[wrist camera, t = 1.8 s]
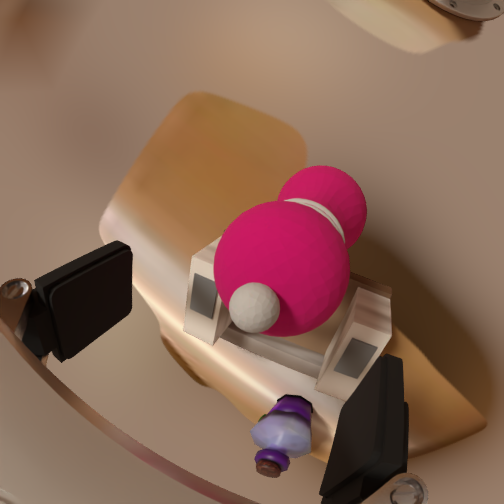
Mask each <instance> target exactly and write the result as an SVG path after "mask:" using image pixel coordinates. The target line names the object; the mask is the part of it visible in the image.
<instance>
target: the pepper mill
mask: <svg viewBox="0 0 504 504" xmlns="http://www.w3.org/2000/svg"><path fill="white" fill-rule="evenodd" d="M366 216H367V207H366V201H365V197H364V195H363V193H362V191H361V188H360V187H359V186H358V184H357V183H356V182H355V181H354V180H353V178H352V177H350V176H349V175H348V174H346V173H345V172H343V171H341V170H339V169H337V168H334V167H329V166H312V167H309V168H305V169H303V170H301V171H299V172H298V173H296V174H295V175H294V176H292V177H291V178H290V179H289V180H288V181H287V182H286V183H285V185H284V186H283V188H282V189H281V192H280V194H279V196H278V200H277V201H273V202H267V203H263V204H260V205H257V206H255V207H253V208H251V209H249V210H247V211H245V212H244V213H242V214H241V215H240V216H239V217H238V218H236V219H235V220H234V221H233V222H232V223H231V224H230V225H229V226H228V228H227V229H226V231H225V232H224V234H223V235H222V237H221V239H220V241H219V243H218V246H217V249H216V252H215V256H214V266H213V274H214V280H215V285H216V289H217V291H218V294H219V296H220V298H221V300H222V302H223V303H224V305H225V306H226V308H227V309H228V310H229V312H230V316H231V319H232V320H233V322H234V323H235V324H236V326H237V327H239V328H240V329H241V330H244V331H246V332H249V333H261V334H264V335H268V336H274V337H289V336H296V335H300V334H304V333H307V332H310V331H312V330H314V329H315V328H317V327H319V326H321V325H322V324H323V323H325V322H326V321H327V320H328V319H329V318H330V317H331V316H332V315H333V314H334V312H335V311H336V310H337V308H338V307H339V306H340V304H341V302H342V300H343V297H344V295H345V293H346V290H347V287H348V284H349V276H350V263H349V254H348V251H347V249H348V248H350V247H351V246H352V245H353V244H354V243H355V242H356V241H357V239H358V238H359V236H360V235H361V233H362V231H363V228H364V225H365V221H366Z"/></svg>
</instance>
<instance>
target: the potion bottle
mask: <svg viewBox="0 0 504 504" xmlns="http://www.w3.org/2000/svg"><path fill="white" fill-rule="evenodd" d="M311 413H313V409H312V403H311V402H309V401H308V400H306V399H305V398H303V397H302V396H298V395H287V394H285V395H284V396H282V397H281V398H279V399H278V400H277V403H276V405H275V406H274V407H273V408H272V409H271V410H270V412H269V413H268V414H267V415H266V414H264V415H263V416H262V417H261V418H260V419H259V421H258V423H257V424H256V425H255V426H254V428H252V429H251V431H250V433H251V435H252V438H253V440H254V443H255V444H256V445H257V446H259V447H261V448H262V450H260V451H258V452H257V454H256V456H255V461H256V469H257V472H258V473H260V474H262V475H264V476H267V477H272V478H273V477H274V478H277V477H279V476H280V473H281V472H283V471H286V470H287V469H288V467H289V464H290V460H289V457H290V458H298V457H300V456H303V455H306V454H308V453H311V440H312V433H311Z"/></svg>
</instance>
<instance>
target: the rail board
mask: <svg viewBox="0 0 504 504" xmlns="http://www.w3.org/2000/svg"><path fill="white" fill-rule="evenodd" d="M225 231H226V230H224V232H225ZM221 237H222V236H221ZM221 237H220V238H218V239H217V240H215V241H214V242H212V243H211V244H209V245H208V246H206V247H205V248H203V249H202V250H200V251H199V252H197V253H196V254H194V255H193V256H192V261H191V268H190V276H189V284H188V292H187V301H186V310H185V319H184V329H183V331H184V332H186V333H188V334H190V335H192V336H194V337H196V338H198V339H200V340H202V341H204V342H206V343H208V344H210V345H212V346H213V345H214V343H215V342H216V341H217V340H218V338H219V337H220V338H222V339H224V340H227V341H229V342H231V343H233V344H235V345H237V346H240V347H242V348H244V349H246V350H248V351H251V352H253V353H255V354H257V355H260V356H262V357H264V358H267V359H269V360H271V361H274V362H276V363H278V364H281V365H283V366H286V367H288V368H291V369H293V370H296V371H298V372H301V373H303V374H306V375H308V376H311V377H314V378H316V379H318V380H317V383H316V386H315V389H314V390H316V391H319V392H322V393H325V394H327V395H330V396H333V397H336V398H339V399H341V400H344V401H347V400H348V398H349V397H350V396H351V394H352V393H353V392H354V390H355V389H356V388H357V386H358V385H359V384H360V382H361V381H362V379H363V378H364V377H365V375H366V374H367V372H368V371H369V369H370V368H371V366H372V365H373V363H374V362H375V360H376V359H377V358H378V357H379V355H380V354H381V352H382V350H383V349H384V347H385V346H386V344H387V343H388V341H389V340H390V338H391V336H392V328H391V309H390V308H391V307H390V298H391V296H392V288H390V287H388V286H385V285H383V284H380V283H378V282H375V281H373V280H370V279H368V278H365V277H362V276H360V275H357V274H354V273H352V272H350V276H349V284H348V287H347V290H346V293H345V295H344V297H343V300H342V302H341V304H340V306H339V307H338V308H337V310H336V311H335V312H334V314H333V315H332V316H331V317H330V318H329V319H328V320H327V321H326V322H325V323H323V324H322V325H321V326H319V327H317V328H315V329H314V330H312V331H310V332H307V333H304V334H300V335H296V336H289V337H274V336H268V335H264V334H261V333H249V332H246V331H244V330H241V329H240V328H239V327H237V326H236V324H235V323H234V322H233V320H232V319H231V316H230V312H229V310H228V309H227V308H226V306H225V305H224V303H223V302H222V300H221V298H220V296H219V294H218V291H217V289H216V285H215V280H214V274H213V266H214V256H215V252H216V249H217V246H218V243H219V241H220V239H221Z"/></svg>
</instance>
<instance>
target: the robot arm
mask: <svg viewBox="0 0 504 504" xmlns="http://www.w3.org/2000/svg"><path fill="white" fill-rule="evenodd" d="M428 1H430V2H431V3H433V4H435V5H436V6H438V7H440V8H441V9H443V10H445V11H447V12H449V13H452V14H454V15H456V16H459V17H462V18H465V19H470V20H474V21H488V20H493V19H495V18H497V17H499V16H500V15H501V14H502V13H503V12H504V0H428ZM132 261H133V253H132V252H131V248H130V246H128V245H126V244H124V243H122V242H120V241H113V242H111V243H109V244H107V245H105V246H103V247H100V248H98V249H96V250H94V251H92V252H90V253H88V254H86V255H83V256H81V257H79V258H77V259H75V260H73V261H71V262H69V263H67V264H65V265H63V266H61V267H59V268H57V269H55V270H53V271H51V272H49V273H47V274H45V275H43V276H41V277H39V278H38V279H36V280H34V281H35V286H36V288H35V289H32V285H31V283H30V282H29V281H28V280H26V279H22V278H15V279H11V280H9V281H7V282H5V283H4V284H2V286H1V287H0V504H260V503H257V502H254V501H252V500H249V499H247V498H245V497H242V496H240V495H237V494H235V493H232V492H230V491H228V490H226V489H223V488H221V487H219V486H216V485H214V484H212V483H210V482H208V481H206V480H204V479H202V478H200V477H198V476H196V475H194V474H192V473H190V472H188V471H186V470H184V469H183V468H181V467H179V466H177V465H175V464H174V463H172V462H170V461H168V460H166V459H165V458H163V457H162V456H160V455H158V454H157V453H155V452H153V451H152V450H150V449H148V448H147V447H145V446H143V445H142V444H140V443H139V442H137V441H136V440H135V439H133V438H132V437H130V436H129V435H127V434H126V433H124V432H123V431H122V430H120V429H118V428H117V427H116V426H115V425H113V424H112V423H110V422H109V421H108V420H107V419H105V418H104V417H102V416H101V415H100V414H99V413H97V412H96V411H95V410H94V409H92V408H91V407H90V406H89V405H88V404H86V403H85V402H84V401H83V400H82V399H80V398H79V397H78V396H77V395H76V394H74V393H73V392H72V391H71V390H70V389H69V388H68V387H67V386H66V385H64V384H63V383H62V382H61V381H60V380H59V379H58V378H57V377H56V376H55V375H54V374H53V373H52V372H51V371H50V370H49V369H47V367H46V364H47V359H48V355H49V353H50V352H51V351H52V353H53V355H54V356H55V357H56V358H57V359H58V360H59V361H60V362H61V363H62V362H63V361H65V360H66V359H70V358H72V357H74V356H75V355H76V354H77V353H79V352H80V351H81V350H83V349H84V348H85V347H87V346H88V345H89V344H90V343H92V342H93V341H94V340H96V339H97V338H98V337H100V336H101V335H102V334H104V333H105V332H106V331H108V330H109V329H110V328H112V327H113V326H114V325H115V324H117V323H118V322H119V321H121V320H122V319H123V318H125V317H126V316H127V315H128V314H129V313H130V312H131V309H132ZM408 432H409V408H408V404H407V402H404V380H403V361H402V359H401V358H398V357H395V356H392V355H389V354H385V355H384V356H383V357H381V356H379V357H378V358H377V359H376V360H375V362H374V363H373V365H372V366H371V368H370V369H369V371H368V372H367V374H366V375H365V377H364V378H363V379H362V381H361V382H360V384H359V385H358V386H357V388H356V389H355V391H354V392H353V393H352V395H351V396H350V397H349V399H348V400H347V401H346V402H345V404H344V405H343V407H342V409H341V412H340V415H339V420H338V424H337V429H336V433H335V437H334V441H333V445H332V449H331V453H330V456H329V460H328V464H327V467H326V471H325V474H324V478H323V481H322V484H321V488H320V491H319V495H321V496H323V498H322V501H321V504H427V500H428V490H427V487H426V485H425V483H424V482H423V480H422V479H420V478H419V477H418V476H416V475H414V474H412V473H407V459H408Z"/></svg>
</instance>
